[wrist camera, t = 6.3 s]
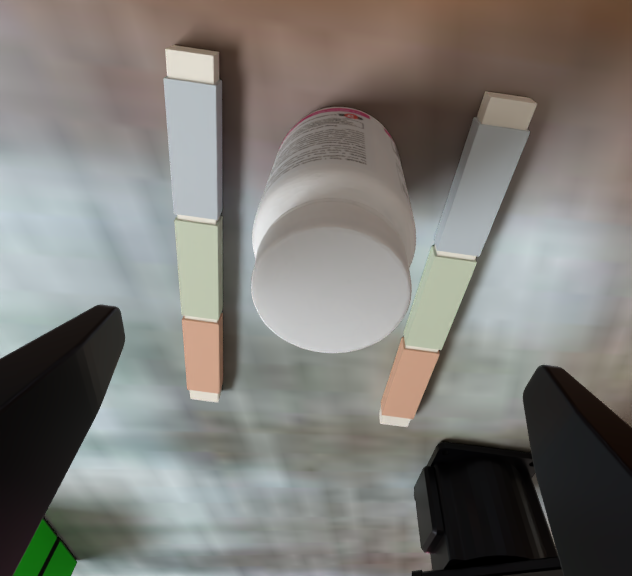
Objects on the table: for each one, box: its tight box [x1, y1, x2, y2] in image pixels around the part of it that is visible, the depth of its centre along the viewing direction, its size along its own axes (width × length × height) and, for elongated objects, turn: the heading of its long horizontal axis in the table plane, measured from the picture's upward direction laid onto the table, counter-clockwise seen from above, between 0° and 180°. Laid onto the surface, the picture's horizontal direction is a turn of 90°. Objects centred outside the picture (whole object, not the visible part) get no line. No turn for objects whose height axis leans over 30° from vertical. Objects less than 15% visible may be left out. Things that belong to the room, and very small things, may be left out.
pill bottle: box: [251, 107, 416, 353], centre depth 14 cm, size 5×5×8 cm
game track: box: [164, 45, 537, 427], centre depth 17 cm, size 13×28×3 cm, turn 173°
